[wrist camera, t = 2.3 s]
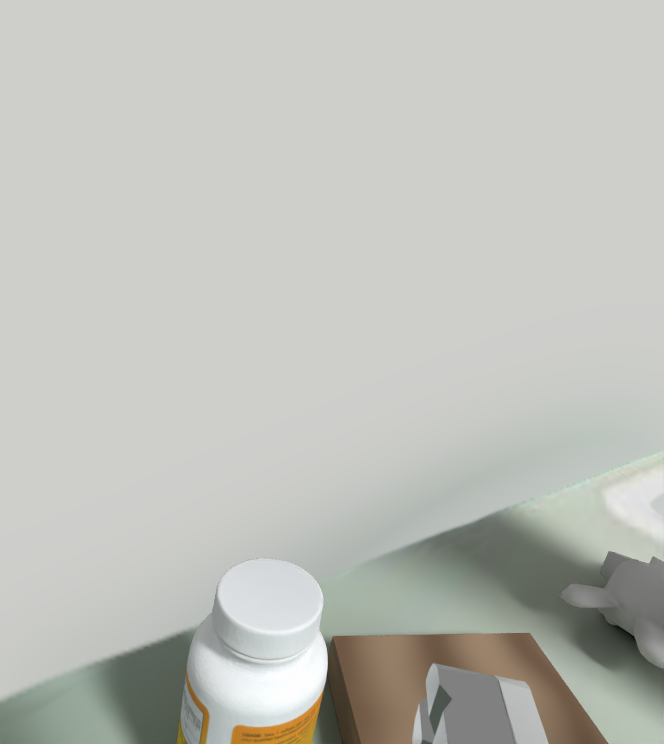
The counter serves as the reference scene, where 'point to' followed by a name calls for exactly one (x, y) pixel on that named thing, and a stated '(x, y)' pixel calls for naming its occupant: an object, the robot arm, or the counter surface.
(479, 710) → the robot arm
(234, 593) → the supplement bottle
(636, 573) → the bunny figurine
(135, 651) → the counter surface
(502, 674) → the walnut base
